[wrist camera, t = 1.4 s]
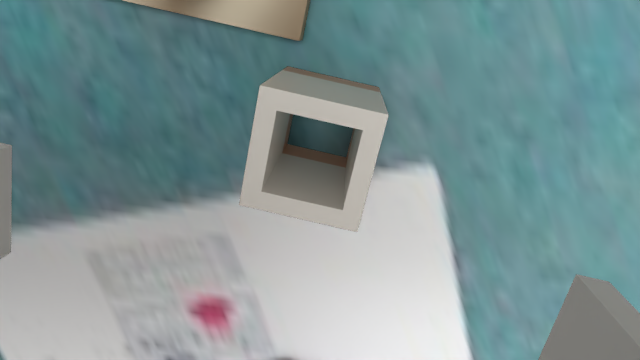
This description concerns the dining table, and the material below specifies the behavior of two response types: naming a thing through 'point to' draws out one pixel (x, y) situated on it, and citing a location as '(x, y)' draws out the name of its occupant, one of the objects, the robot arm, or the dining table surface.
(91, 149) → the dining table surface
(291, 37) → the pin board
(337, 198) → the sleeve
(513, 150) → the dining table surface
